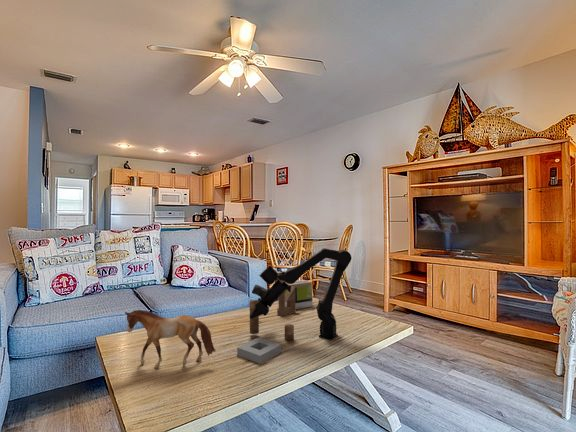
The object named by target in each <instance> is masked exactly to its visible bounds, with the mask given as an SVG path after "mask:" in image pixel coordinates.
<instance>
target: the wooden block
mask: <svg viewBox="0 0 576 432" xmlns="http://www.w3.org/2000/svg"><path fill="white" fill-rule="evenodd" d="M277 301H278V308H277V309H276V311H277V313H276V315H277V316H279V317H284V316H287V315H291V314H294V313H295V312H296V309H295V287H293V286H291V292H289V291H287V293H286V295H285V292H284V293H283V294H282V295H281V296H280V297H279V298H278V300H277ZM285 302H287V307H285Z"/></svg>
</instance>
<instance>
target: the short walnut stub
mask: <svg viewBox="0 0 576 432" xmlns="http://www.w3.org/2000/svg"><path fill="white" fill-rule="evenodd" d="M294 331H295V325H294V324H292V323H291V324H290V323H288V324H287V323H286V324H284V341H286V342H293V341H294V340H295V332H294Z"/></svg>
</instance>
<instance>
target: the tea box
mask: <svg viewBox="0 0 576 432" xmlns="http://www.w3.org/2000/svg"><path fill="white" fill-rule="evenodd" d="M287 284H288V283H287ZM288 285H291V286H293V287H295V310H298V309H305V308H306V309H307V308H312V307H313V282H312V281H309V280H305V279H298V280H297V281H296V282H295V283H293V284H288ZM287 291H288V290H286V291H285V295H286V293H287ZM285 307H287V302H285Z"/></svg>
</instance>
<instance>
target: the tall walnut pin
mask: <svg viewBox="0 0 576 432" xmlns="http://www.w3.org/2000/svg"><path fill="white" fill-rule="evenodd" d="M257 302H258V299H251V300H249V334H250V335H257V334H259V333H260V322H259V321H260V319H259V318H260V317H259V316H258V317H255V318H252V319H251V318H250V316H251V314H252V313H253V311H254V310H255V308H256V307H255V304H256V303H257Z"/></svg>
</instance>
